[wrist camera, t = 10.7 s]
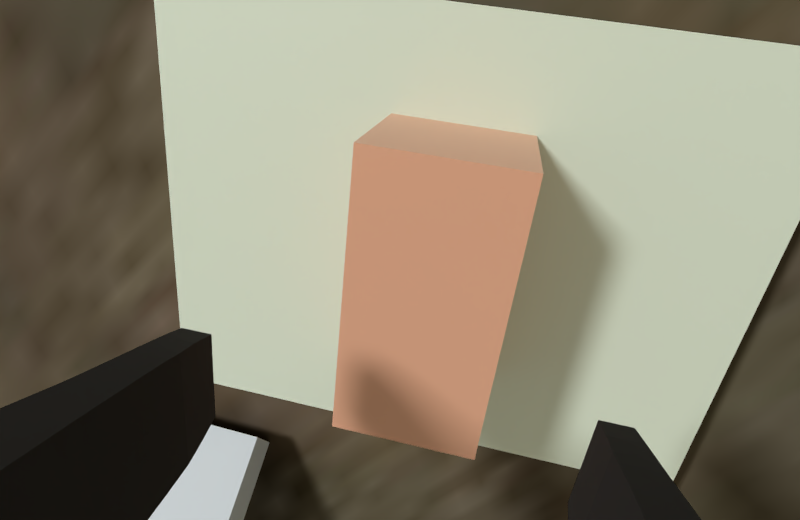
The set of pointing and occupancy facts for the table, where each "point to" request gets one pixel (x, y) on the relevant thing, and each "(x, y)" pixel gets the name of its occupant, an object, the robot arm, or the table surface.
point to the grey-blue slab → (216, 479)
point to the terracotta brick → (430, 277)
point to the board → (554, 213)
